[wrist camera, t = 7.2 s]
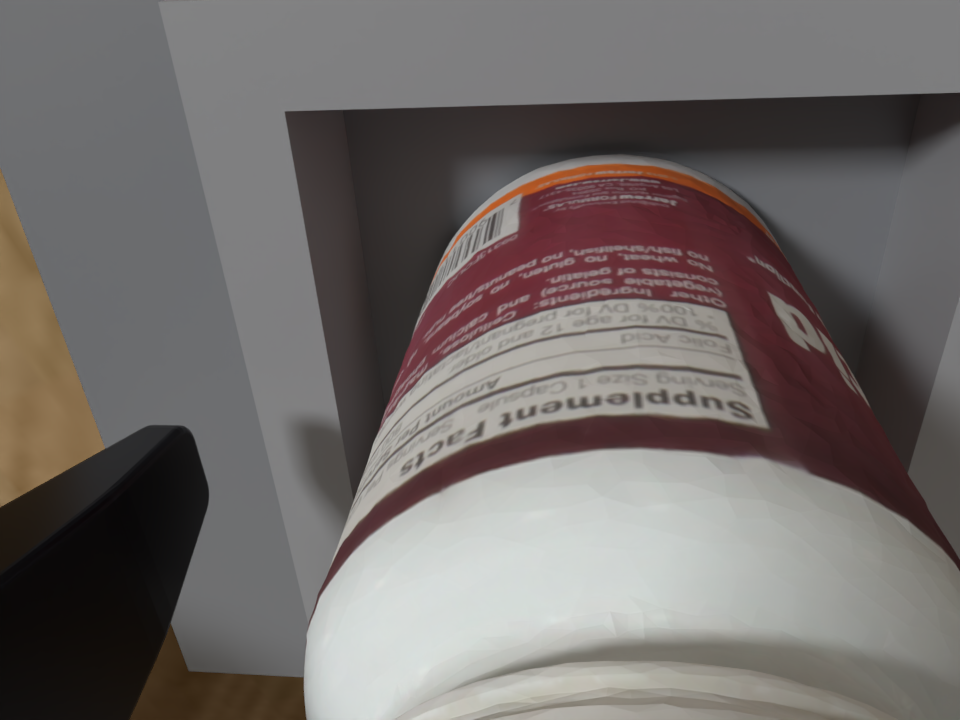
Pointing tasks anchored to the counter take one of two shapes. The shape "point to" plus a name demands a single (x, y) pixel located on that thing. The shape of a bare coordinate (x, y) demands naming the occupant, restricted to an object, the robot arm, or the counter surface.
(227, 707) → the counter surface
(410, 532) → the pill bottle
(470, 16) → the bottle stand
